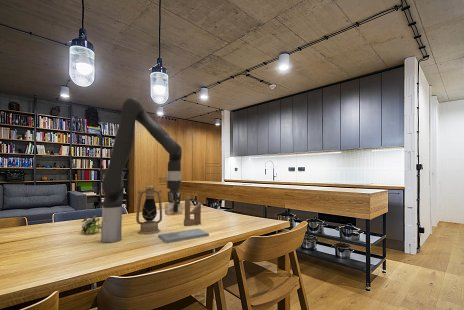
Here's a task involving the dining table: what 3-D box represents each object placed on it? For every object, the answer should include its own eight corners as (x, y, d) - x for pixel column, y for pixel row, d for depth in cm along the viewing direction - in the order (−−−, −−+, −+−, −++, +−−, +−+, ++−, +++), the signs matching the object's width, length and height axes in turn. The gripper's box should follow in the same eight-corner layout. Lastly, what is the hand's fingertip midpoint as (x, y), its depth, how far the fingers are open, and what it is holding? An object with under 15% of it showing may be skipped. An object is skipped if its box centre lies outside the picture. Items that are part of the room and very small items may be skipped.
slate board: (166, 243, 121) (166, 240, 121) (158, 237, 132) (158, 234, 132) (208, 235, 134) (208, 233, 135) (198, 231, 145) (198, 228, 145)
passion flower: (84, 242, 141) (85, 222, 148) (105, 237, 144) (104, 218, 151) (77, 235, 132) (78, 215, 139) (99, 230, 136) (99, 210, 142)
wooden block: (200, 224, 163) (201, 197, 164) (185, 226, 158) (185, 198, 159) (198, 223, 166) (199, 196, 167) (183, 225, 161) (183, 197, 162)
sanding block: (168, 215, 126) (168, 203, 127) (164, 214, 131) (165, 202, 131) (182, 214, 131) (182, 202, 131) (179, 212, 135) (179, 201, 135)
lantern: (135, 235, 135) (136, 181, 137) (136, 230, 147) (137, 180, 148) (162, 233, 140) (163, 181, 142) (161, 228, 151) (162, 180, 153)
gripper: (163, 179, 136) (162, 210, 135) (172, 180, 124) (171, 214, 123) (175, 179, 140) (175, 209, 139) (185, 179, 128) (185, 212, 127)
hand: (173, 211), depth 131 cm, fingers closed on sanding block, 5 cm apart
